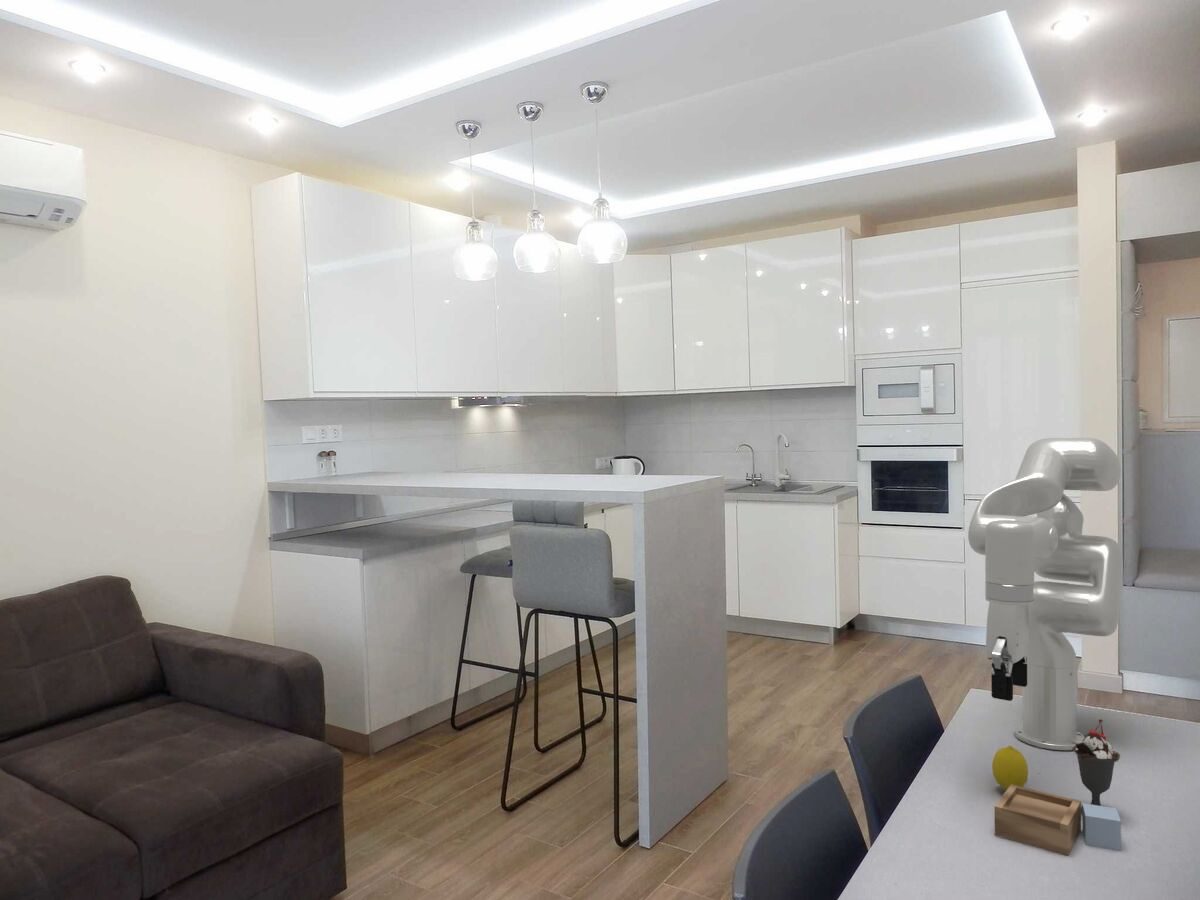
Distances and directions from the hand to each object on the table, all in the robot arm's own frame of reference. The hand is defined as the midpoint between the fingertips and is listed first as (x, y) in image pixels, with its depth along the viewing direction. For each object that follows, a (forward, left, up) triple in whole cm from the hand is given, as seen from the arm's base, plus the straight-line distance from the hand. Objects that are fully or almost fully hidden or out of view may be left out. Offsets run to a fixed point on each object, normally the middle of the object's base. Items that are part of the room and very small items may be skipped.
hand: (1009, 691), depth 142 cm
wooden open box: (+13, +7, -17) cm, 23 cm away
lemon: (0, 0, -18) cm, 18 cm away
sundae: (0, +13, -18) cm, 22 cm away
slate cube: (+10, +15, -18) cm, 25 cm away
